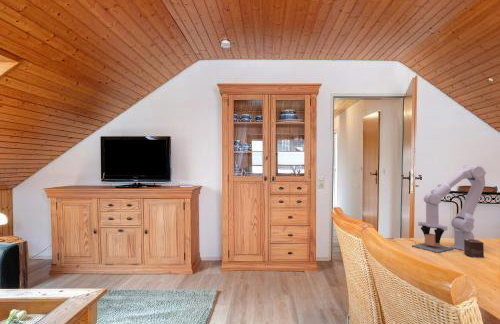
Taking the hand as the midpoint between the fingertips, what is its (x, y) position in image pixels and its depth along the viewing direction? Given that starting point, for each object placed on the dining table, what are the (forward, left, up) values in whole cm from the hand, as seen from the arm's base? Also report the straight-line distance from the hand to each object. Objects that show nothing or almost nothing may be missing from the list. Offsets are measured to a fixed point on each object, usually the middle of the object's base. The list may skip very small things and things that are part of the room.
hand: (432, 241), depth 167 cm
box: (-4, +18, -4) cm, 19 cm away
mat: (0, 0, -3) cm, 3 cm away
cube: (0, 0, -2) cm, 2 cm away
